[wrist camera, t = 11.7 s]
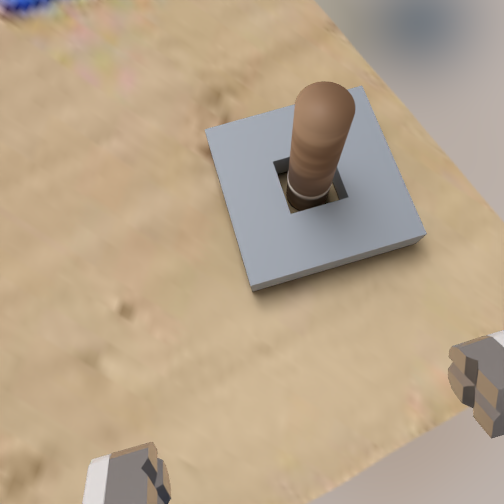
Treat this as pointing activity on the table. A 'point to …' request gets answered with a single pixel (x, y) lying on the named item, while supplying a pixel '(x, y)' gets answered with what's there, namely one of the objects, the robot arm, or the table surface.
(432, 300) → the table surface
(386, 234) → the socket board
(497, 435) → the robot arm
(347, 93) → the peg
